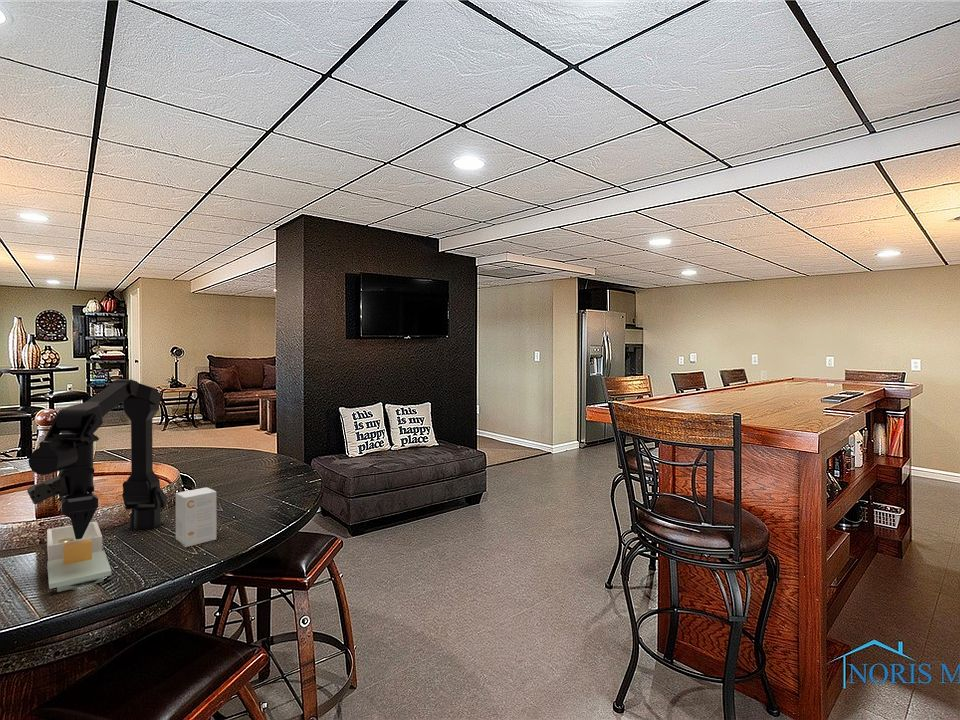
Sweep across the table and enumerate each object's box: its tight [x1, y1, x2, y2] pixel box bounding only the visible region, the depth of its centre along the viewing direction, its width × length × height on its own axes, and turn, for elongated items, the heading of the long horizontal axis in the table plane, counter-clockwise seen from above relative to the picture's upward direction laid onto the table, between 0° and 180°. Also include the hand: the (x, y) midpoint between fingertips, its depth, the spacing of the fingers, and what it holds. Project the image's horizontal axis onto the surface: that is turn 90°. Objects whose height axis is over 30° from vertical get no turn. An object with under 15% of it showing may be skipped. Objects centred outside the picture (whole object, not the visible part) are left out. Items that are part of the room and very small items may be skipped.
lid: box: [46, 539, 112, 593], centre depth 115 cm, size 14×10×6 cm
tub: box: [46, 520, 103, 562], centre depth 128 cm, size 14×10×5 cm
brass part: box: [58, 538, 74, 543], centre depth 129 cm, size 3×3×2 cm
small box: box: [175, 487, 218, 548], centre depth 137 cm, size 8×6×13 cm
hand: (77, 533), depth 117 cm, fingers open, 9 cm apart
